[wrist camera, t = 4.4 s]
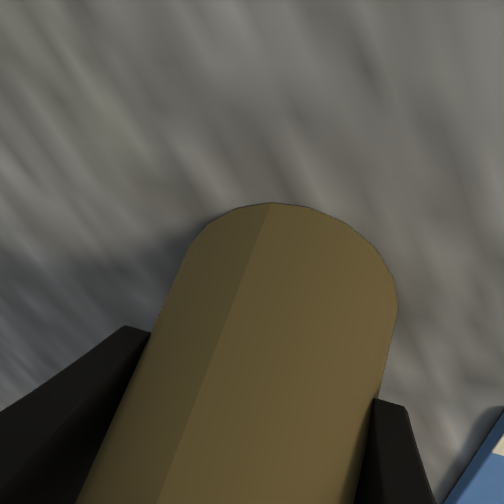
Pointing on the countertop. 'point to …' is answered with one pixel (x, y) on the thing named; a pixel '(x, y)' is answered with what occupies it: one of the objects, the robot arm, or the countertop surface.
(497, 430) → the towel
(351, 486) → the cork
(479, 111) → the countertop surface
